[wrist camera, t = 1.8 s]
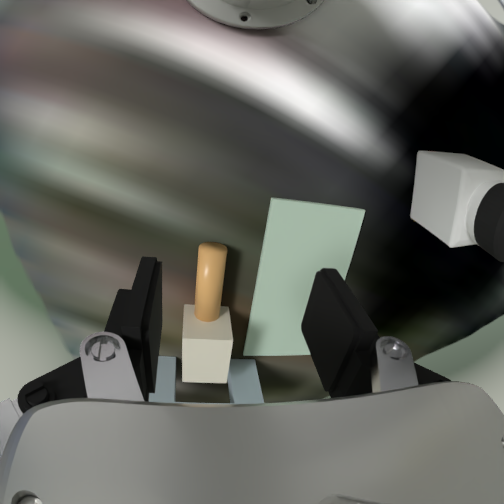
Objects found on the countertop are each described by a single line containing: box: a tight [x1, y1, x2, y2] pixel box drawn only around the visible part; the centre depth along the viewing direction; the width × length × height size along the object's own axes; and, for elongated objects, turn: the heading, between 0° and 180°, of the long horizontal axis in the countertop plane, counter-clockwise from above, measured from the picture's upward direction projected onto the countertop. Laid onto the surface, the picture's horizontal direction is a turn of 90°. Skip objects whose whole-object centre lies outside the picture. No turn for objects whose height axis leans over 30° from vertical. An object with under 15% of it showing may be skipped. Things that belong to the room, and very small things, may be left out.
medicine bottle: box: [410, 151, 504, 262], centre depth 23 cm, size 7×7×12 cm
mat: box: [243, 197, 365, 356], centre depth 31 cm, size 18×9×1 cm, turn 171°
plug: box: [182, 242, 233, 383], centre depth 29 cm, size 14×4×5 cm, turn 171°
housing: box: [149, 356, 264, 404], centre depth 31 cm, size 2×12×8 cm, turn 82°
